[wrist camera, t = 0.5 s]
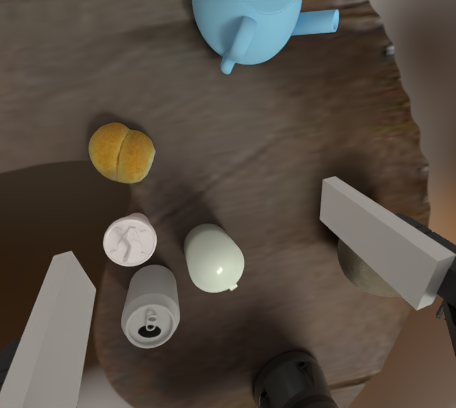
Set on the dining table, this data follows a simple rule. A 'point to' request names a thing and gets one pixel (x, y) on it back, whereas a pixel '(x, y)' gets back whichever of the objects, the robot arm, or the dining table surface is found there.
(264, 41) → the teapot
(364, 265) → the cantaloupe
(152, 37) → the dining table surface
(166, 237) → the dining table surface
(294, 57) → the dining table surface
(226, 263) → the sage mug
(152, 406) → the dining table surface
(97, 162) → the bread roll
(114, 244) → the smoothie
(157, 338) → the can
